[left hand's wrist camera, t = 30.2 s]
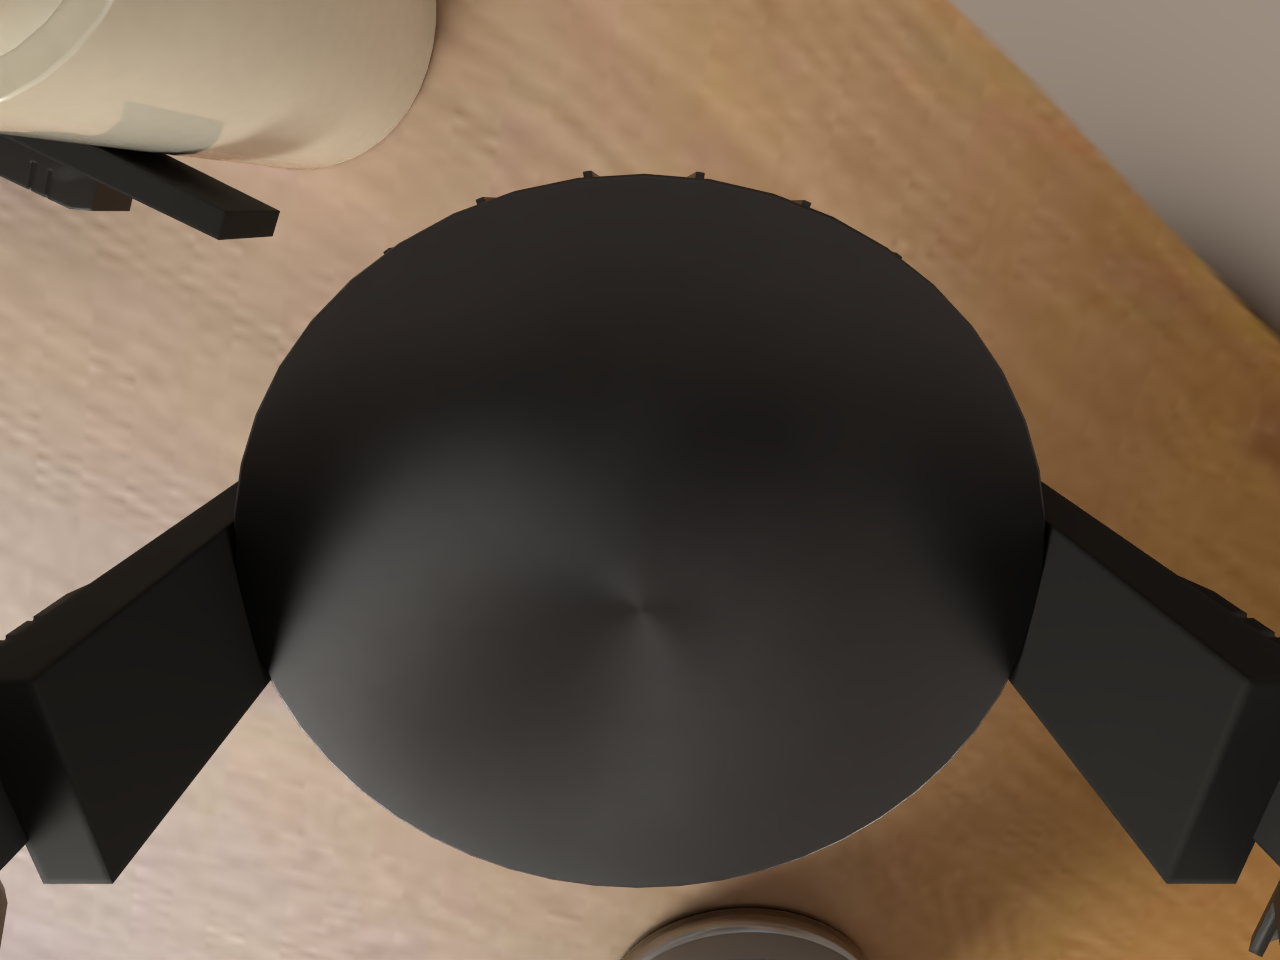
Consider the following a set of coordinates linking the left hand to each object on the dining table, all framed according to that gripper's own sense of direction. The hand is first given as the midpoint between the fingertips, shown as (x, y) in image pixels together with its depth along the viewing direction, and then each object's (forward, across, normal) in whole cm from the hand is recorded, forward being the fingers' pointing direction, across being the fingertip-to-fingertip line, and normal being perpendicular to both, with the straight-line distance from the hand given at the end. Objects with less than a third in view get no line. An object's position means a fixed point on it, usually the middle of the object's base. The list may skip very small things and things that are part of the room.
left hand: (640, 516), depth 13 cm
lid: (-3, 0, 0) cm, 3 cm away
